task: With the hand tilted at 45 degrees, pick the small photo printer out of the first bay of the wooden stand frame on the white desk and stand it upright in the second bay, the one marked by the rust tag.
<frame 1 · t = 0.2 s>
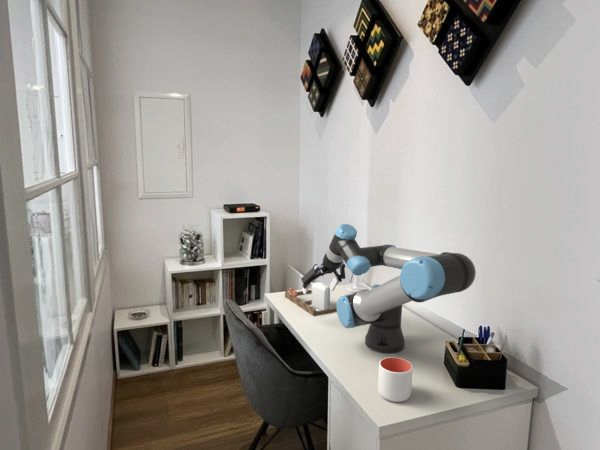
hand: (317, 290, 184), 15 cm above the table, tool tilted 35°, fingers open, 13 cm apart
photo printer: (320, 308, 206), on the table
wooden stand frame: (313, 303, 212), on the table
cup: (394, 395, 133), on the table
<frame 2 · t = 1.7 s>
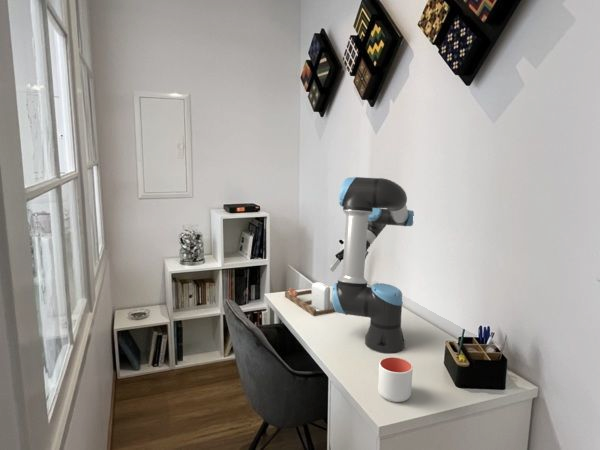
hand: (338, 273, 208), 16 cm above the table, tool tilted 45°, fingers open, 13 cm apart
nothing on the table moved.
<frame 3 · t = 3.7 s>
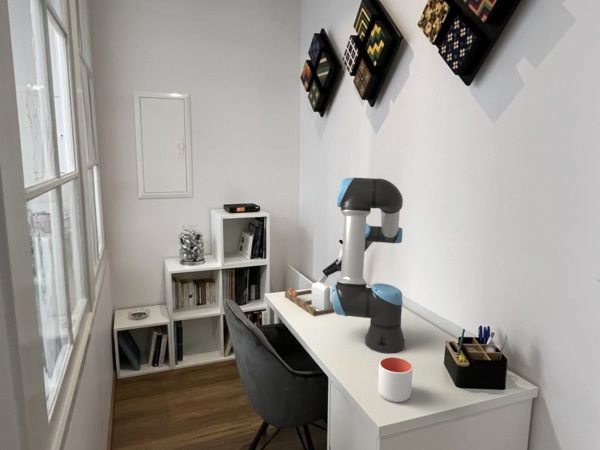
hand: (324, 289, 206), 8 cm above the table, tool tilted 45°, fingers open, 13 cm apart
nothing on the table moved.
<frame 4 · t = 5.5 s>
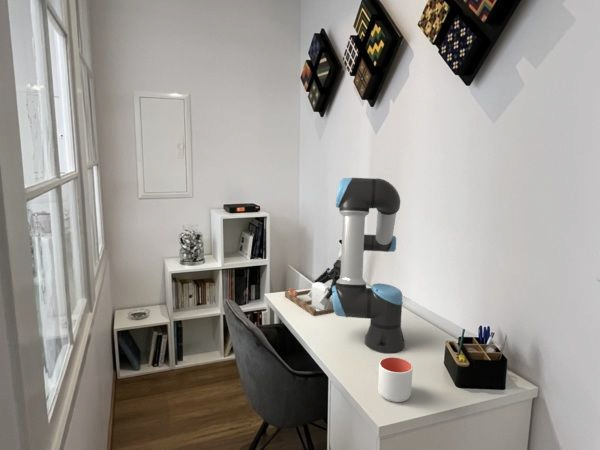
hand: (315, 299, 204), 5 cm above the table, tool tilted 45°, fingers closed on photo printer, 10 cm apart
photo printer: (320, 308, 206), on the table, touching gripper
everything else where it was.
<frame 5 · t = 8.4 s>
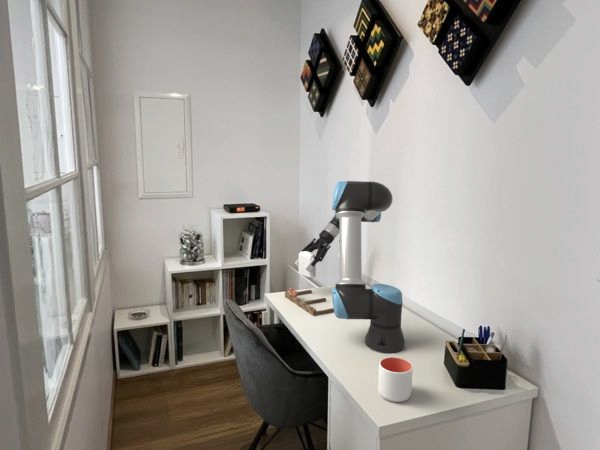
hand: (301, 267, 214), 17 cm above the table, tool tilted 45°, fingers closed on photo printer, 10 cm apart
photo printer: (306, 276, 216), point 12 cm above the table, touching gripper
everything else where it was.
when the fingers open (6 cm above the table, at t = 11.4 s): photo printer drops 1 cm, on the table.
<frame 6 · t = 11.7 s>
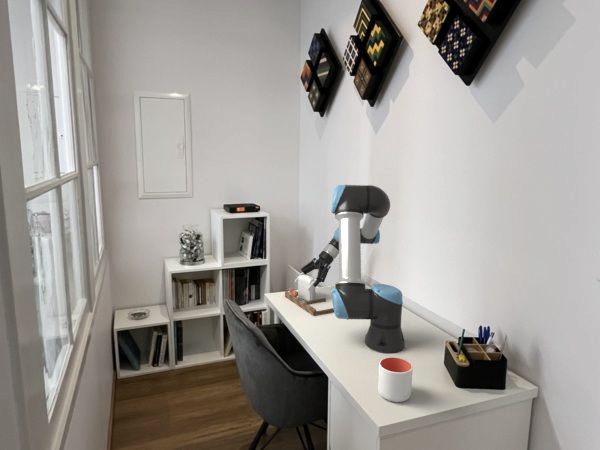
hand: (302, 287, 216), 7 cm above the table, tool tilted 45°, fingers open, 13 cm apart
photo printer: (306, 299, 218), on the table
everything else where it was.
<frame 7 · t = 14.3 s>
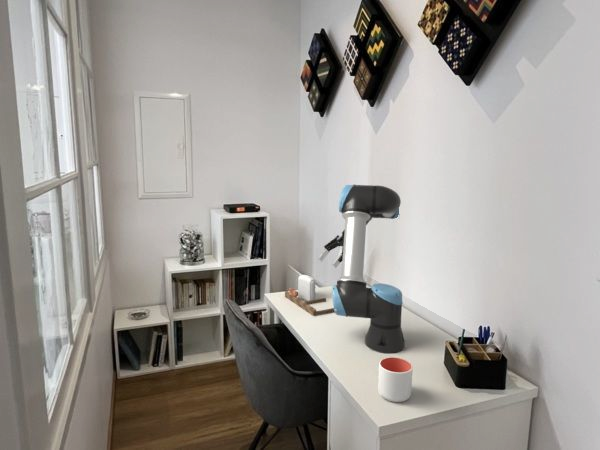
hand: (326, 263, 220), 18 cm above the table, tool tilted 45°, fingers open, 13 cm apart
nothing on the table moved.
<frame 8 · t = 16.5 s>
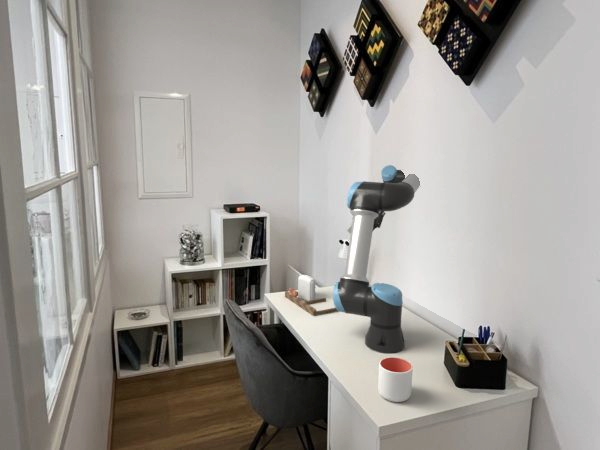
hand: (356, 234, 213), 34 cm above the table, tool tilted 45°, fingers open, 13 cm apart
nothing on the table moved.
at the end: photo printer inside the target area on the wooden stand frame (0.1 cm from its centre), point 0.0 cm above the wooden stand frame's base; photo printer tilted 0°; the gripper is holding nothing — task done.
